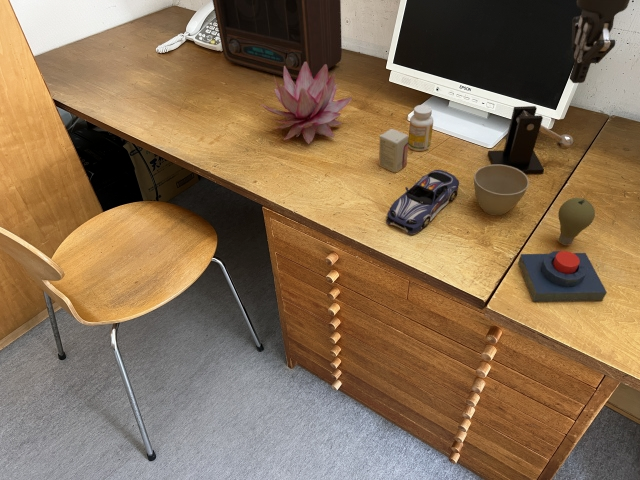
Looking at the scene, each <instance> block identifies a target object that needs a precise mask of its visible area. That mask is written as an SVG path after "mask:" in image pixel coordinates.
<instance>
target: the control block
mask: <svg viewBox="0 0 640 480" xmlns="http://www.w3.org/2000/svg"><path fill="white" fill-rule="evenodd" d="M561 251H562V250H553V251H551V252H549V253H520V256H519V258H518V262H517V264H518V266H519V269H520V271H521V274H522V276H523V279H524V281H525V284H526V287H527V291H528V292H529V295H530V297H531V300H532V302H533V303H553V302H554V303H555V302H556V303H557V302H560V303H561V302H562V303H563V302H603V300H604V299H605V297H606V295H607V292H608V291H607V290H606V288H605V286H604V284H603V283H602V281H601V278H600V277H599V274H597V271H596V269H595V268H594V266H593V264H592V262H591V260H590V259H589V256H588V255H587V253H586V252H572V253H573V254H575V255H576V256H577V257H578V258H579V260H580V263H579V265H578V267H577V270H576V271H575V272H574V273H572V274H564V273H561V272H559V271H557V270H556V269H555V268H554V266H553V261H554V259H555V256H556V254H557V253H559V252H561Z"/></svg>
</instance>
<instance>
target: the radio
mask: <svg viewBox="0 0 640 480" xmlns="http://www.w3.org/2000/svg"><path fill="white" fill-rule="evenodd" d="M341 3H342V1H341V0H212V5H213V9H214V15H215V20H216V24H217V30H218V34H219V35H218V36H219V40H220V45H221V50H222V53H223V56H224V58H225V59H226V61H227V62H231V63H233V64H237V65H241V66H244V67H248V68H251V69H253V70H254V69H255V70H259V71H262V72H265V73H270V74H273V75H278V76H282V77H283V73H284V66H285V67H286V69H287V71H288V73H289V75H290V77H291V79H292V80H297V78H298V75H299V72H300V70H301V68H302V66H303V64H304V62H307V64H308V66H309V69H310V71H311V74H312V77H313V80H314V78H315V76H316V75H317V74H318V72H319V71H320V70H321V68H322V67H323V66H324V65H325V64H327V68H328V70H330V69H331V68H333V67H334V66H335V65H337V64H338V63H340V62H341V60H342V54H343V53H342V52H343V51H342V6H341V5H342V4H341Z"/></svg>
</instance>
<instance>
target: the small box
mask: <svg viewBox="0 0 640 480" xmlns="http://www.w3.org/2000/svg"><path fill="white" fill-rule="evenodd" d="M408 137H409V134H406V133H404V132H402V131H400V130H397V129H394V128H390V129H387V130H386V131H385V132H383V133H382V134H380V135H379V146H378V147H379V148H378V165H379V167H381V168H384V169H385V170H387V171H390V172H392V173H394V174H396V173H398V172H399V171H401V170H402V169H404V168H405V167H406V166H407V164H408V150H409V149H408V148H409V146H408Z"/></svg>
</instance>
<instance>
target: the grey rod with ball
mask: <svg viewBox="0 0 640 480" xmlns="http://www.w3.org/2000/svg"><path fill="white" fill-rule="evenodd" d="M519 116H533V115H532V114H530V113H528V112H526V111H525V110H523V111H522V113H521V114H520V115H519ZM519 116H518V117H517V118H516V121H517V122H518V120H519ZM539 132H540V133H541V134H544V135H546V136H547V137H548V138H551V139H552V140H554V141H556V146H557V148H559V149H560V150H568V149H570V148H572V146H573V144H574V138H573V137H572V135H571V134H565V133H564V134H561V135H560V134H558V133H556V132H555V131H553V130H551V129H549V128H548V127H545V126H544V125H543V124H541V126H540V129H539Z"/></svg>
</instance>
